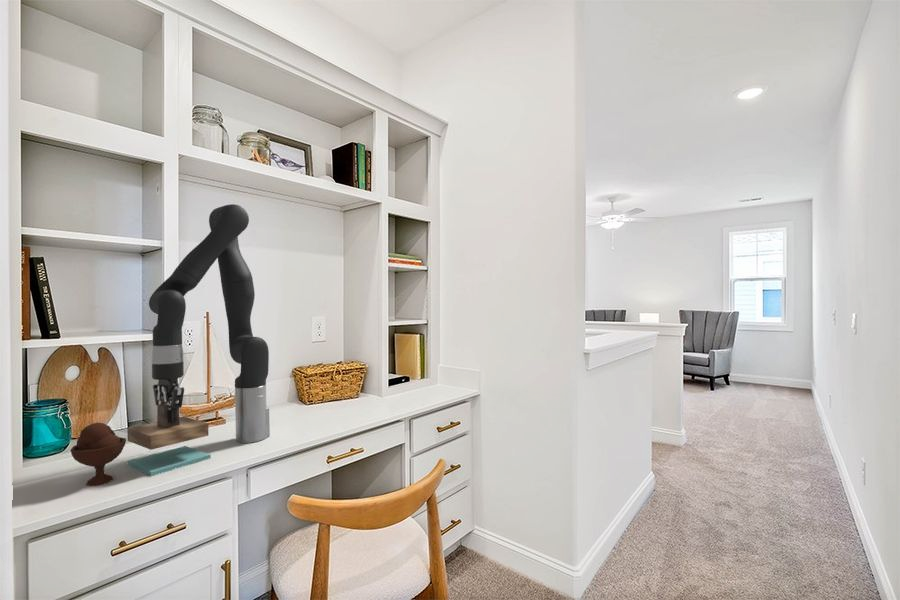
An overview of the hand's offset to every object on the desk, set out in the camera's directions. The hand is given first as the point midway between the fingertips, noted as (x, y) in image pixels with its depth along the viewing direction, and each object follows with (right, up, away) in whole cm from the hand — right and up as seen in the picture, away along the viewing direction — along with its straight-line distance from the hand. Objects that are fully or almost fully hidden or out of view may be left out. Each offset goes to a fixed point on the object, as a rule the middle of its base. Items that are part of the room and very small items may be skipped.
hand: (168, 421), depth 124 cm
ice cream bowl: (-9, -12, -13) cm, 20 cm away
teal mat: (0, -11, 0) cm, 11 cm away
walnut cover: (0, -5, 0) cm, 5 cm away
